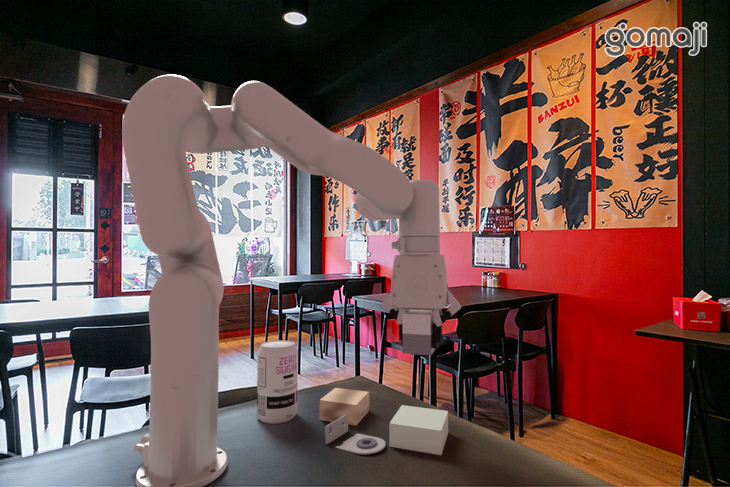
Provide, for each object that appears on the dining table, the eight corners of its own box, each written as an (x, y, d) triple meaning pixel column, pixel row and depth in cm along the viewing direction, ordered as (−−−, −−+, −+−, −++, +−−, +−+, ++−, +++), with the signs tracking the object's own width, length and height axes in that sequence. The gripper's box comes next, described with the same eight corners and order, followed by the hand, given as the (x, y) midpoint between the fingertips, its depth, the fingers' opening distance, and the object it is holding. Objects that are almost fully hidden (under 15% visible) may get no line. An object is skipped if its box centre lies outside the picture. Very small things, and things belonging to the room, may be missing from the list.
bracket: (372, 462, 63) (372, 440, 63) (324, 446, 68) (324, 426, 68) (392, 445, 68) (392, 426, 68) (346, 432, 74) (346, 414, 74)
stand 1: (319, 419, 78) (319, 399, 78) (335, 405, 86) (335, 387, 86) (356, 425, 76) (356, 404, 76) (369, 410, 83) (369, 391, 83)
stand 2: (389, 446, 67) (389, 423, 67) (401, 425, 76) (401, 405, 76) (441, 455, 64) (441, 430, 64) (448, 432, 73) (448, 411, 73)
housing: (411, 345, 75) (410, 308, 75) (437, 346, 73) (436, 309, 73) (402, 353, 68) (402, 313, 68) (430, 355, 66) (430, 314, 67)
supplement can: (269, 407, 85) (270, 338, 85) (303, 411, 83) (304, 341, 83) (248, 422, 77) (249, 346, 78) (285, 427, 75) (286, 349, 75)
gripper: (369, 247, 71) (370, 347, 70) (464, 246, 65) (466, 354, 64) (381, 248, 78) (382, 339, 77) (468, 247, 72) (469, 345, 71)
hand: (420, 345), depth 71 cm, fingers closed on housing, 5 cm apart
